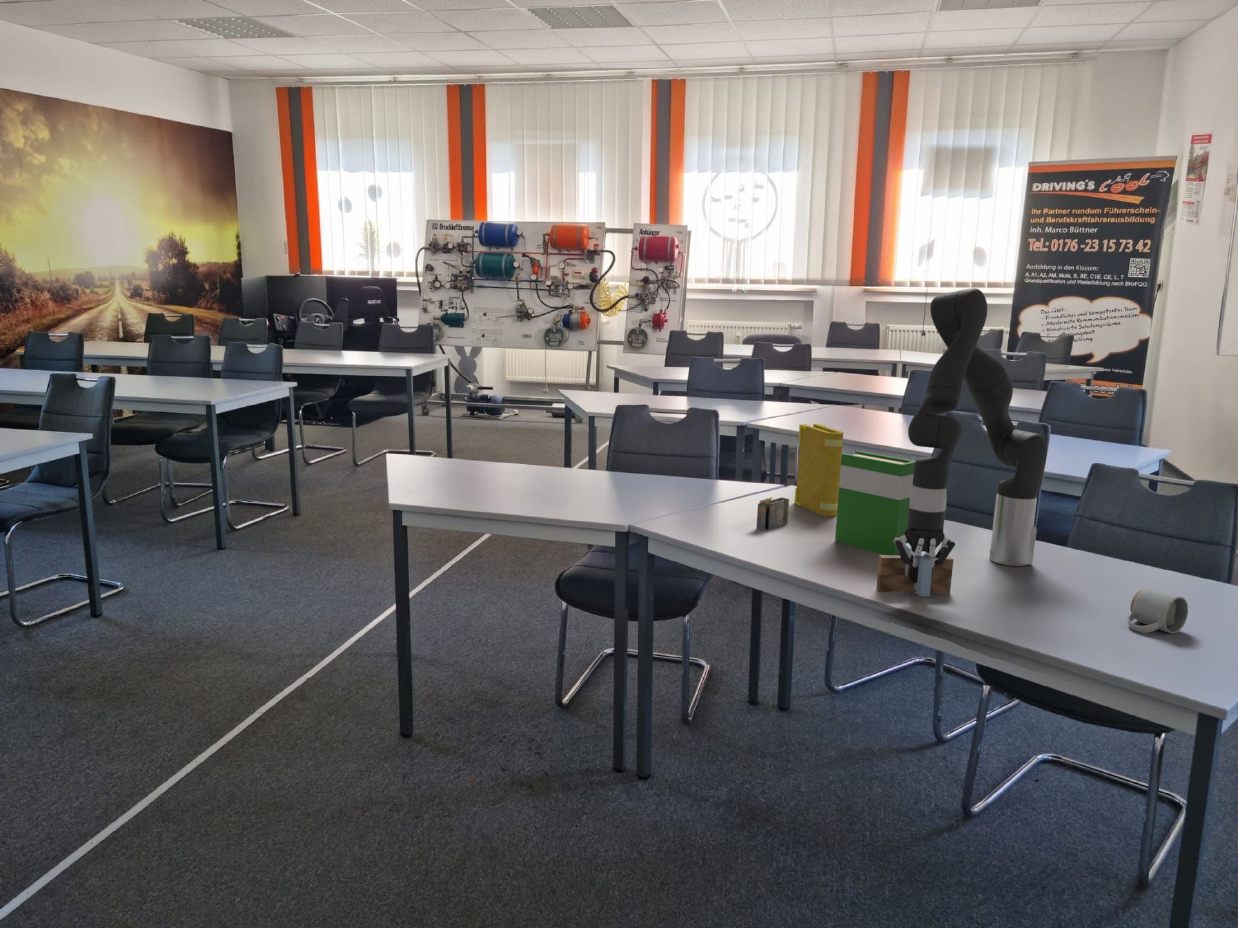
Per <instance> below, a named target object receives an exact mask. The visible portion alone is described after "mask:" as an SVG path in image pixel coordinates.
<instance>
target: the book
mask: <svg viewBox="0 0 1238 928" xmlns="http://www.w3.org/2000/svg"><path fill="white" fill-rule="evenodd" d="M798 427H799V430H798V441H799V449H798V450H799V451H798V461H797V462H798V465H797V466H798V467H797V479H796V487H795V489H794V491H795V492H794V504H795V503H796V505H798V506H799V505H800V506H799V507H803V508H805V507H806V508H805V509H807V510H809V511H811V512H813V513H814V514H817V515H818V516H822V517H837V508H838V495H839V482H840V469H841V456H842V454H843V443H844V442H843V441H844V432H843V431H841V430H839V429H835V428H831V427H828V426H826V425H823V424H820V423H813V425H809V424H803V423H802V424H799V426H798Z"/></svg>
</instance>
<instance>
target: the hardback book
mask: <svg viewBox="0 0 1238 928" xmlns="http://www.w3.org/2000/svg"><path fill="white" fill-rule="evenodd" d="M854 453H855V454H848V453H843V452H842V456H841V469H840V482H839V495H838V508H837V515H836V523H835V524H836V525H835V537H834V542H835V541H836V543H838V544H839V543H840V544H842V543H844V544H843V545H847V546H850V545H852V546H851V547H854V548H857V547H858V549H860V550H861V549H862V550H865V551H870V552H873V553H876V554H879V555H883V554H884V555H899V553H898V551H897V549H896V546H895V544H894V542H893V538H895V537H896V538H899V537H901V536H903V535H904V533H905V531H906V530H907V523H908V512H909V502H910V493H911V489H912V483H913V473H914V465H915V462H916V460H912V459H906V458H901V457H900V458H899V457H894V456H889V455H884V454H878V453H872V452H867V451H861V450H855V452H854ZM905 543H908V541H907V540H906V541H905Z"/></svg>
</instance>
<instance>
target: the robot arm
mask: <svg viewBox="0 0 1238 928" xmlns="http://www.w3.org/2000/svg"><path fill="white" fill-rule="evenodd" d="M987 301H988V300H987V298H986V296H985V294H984V292H982V290H981V289H979V288H976V287H973V288H964V289H960V290H955V291H950V292H946V293H942V294H938V295H936V296H935V297H934V298H933V299H932V300H931V302H930V306H929V307H930V309H929V310H930V317H931V320H932V322H933V325H934V327H935V330H936V331H937V333H938V335H939V336H940V338H941V339H942V342H944V345H945V346H946V348H947V349H946V351H945V352H943V354H942V355H941V356H940V357H939V359H938V360H937V361H936V362H935V364H934V366H933V368H932V370H931V372H930V375H929V376H928V377H929V378H928V381H927V387H926V391H925V395H924V397H923V399H922V402H921V404H920V406H919V407H918V409H917V411H916V412H915V414H914V416H913V417H912V419H911V420H910V422H909V425H908V429H907V433H908V436H907V437H908V439H909V441H910V443H911V444H912V445H914V446H915V447H921V448H923V447H924V448H930V449H938V450H940V452H939V454H938V455H935V456H928V457H926V456H925V457H920V458H917V459H916V460H915V461H916V462H915V465H914V473H913V483H912V489H911V493H910V502H909V512H908V523H907V530H906V531H905V533H904V535H903V536H901V537H899V538H896V537H895V538H893V542H894V544H895V546H896V549H897V551H898V553H899V555H900V557H901V559H902V561H904V562H905V564H909V565H910V569H909V578H910V579H911V581H912V582H913V583H917V579H918V569H919V568H918V567H917V566H918V563H919V558H920V557H921V552H923V553H924V554H925V555H927V556H928V557H929V558H930V559H932V560H933V564H932V574H933V567H934V566H936V565H942V563H943V562H944V561H945V559H946V558H947V557H949V555H950V554H951V552H952V550H953V549H954V548H955V546H956V542H955V541H953V540H952V539H951V538H947V537H946V536H945V532H944V528H945V519H946V518H945V516H946V509H947V499H948V497H947V496H948V495H947V486H948V479H949V477H948V475H949V469H950V466H951V461H952V459H953V455H954V453H955V450H956V449H957V445H958V443H959V441H960V439H961V437H962V436H961V435H962V425H961V422H960V420H959V419H958V418H957V417H955V416H950V415H949V416H948V415H939V414H945V413H950V412H953V411H954V410H956V409H957V408H958V405H959V403H960V399H961V394H962V388H963V384H964V383H965V385H966V388H967V390H968V392H969V394H970V396H971V398H972V401H973V403H974V404H975V406H976V408H977V410H978V413H979V415H980V417H981V420H982V422H983V424H984V427H985V429H986V432H987V436H988V439H989V443H990V446H991V448H992V451H993V453H994V456H995V458H996V459H997V461H998V462H1000V463H1001V464H1003V465H1004V466H1008V467H1012V468H1016V470H1015V474H1014V477H1013V478H1010V479H1002V480H1001V481H999V482H998V483H997V487H996V498H995V505H994V506H995V507H994V513H993V521H992V522H993V523H992V532H991V540H990V549H989V560H990V561H992V562H994V563H997V564H1000V565H1003V566H1008V567H1009V566H1010V567H1024V566H1027V565H1028V566H1029V565H1033V560H1034V553H1035V546H1036V537H1037V529H1038V528H1037V527H1036V526H1035V515H1036V510H1037V509H1036V508H1037V507H1036V506H1037V501H1038V499H1037V498H1038V494H1039V493H1038V492H1039V490H1040V488H1041V485H1042V483H1043V478H1044V472H1045V467H1046V463H1047V461H1046V460H1047V456H1048V444H1047V441H1046V439H1045V438H1044V436H1043V435H1042V434H1039V433H1037V432H1031V431H1026V430H1020V429H1018V428H1017V427H1016V426H1015V424H1013V423H1014V422H1012V419H1011V417H1010V414H1009V408H1010V405H1011V403H1012V399H1013V393H1014V388H1013V387H1014V386H1013V384H1012V382H1011V379H1010V377H1009V375H1008V372H1007V370H1006V367H1005V366H1004V364H1003V363H1002V362H1001V360H999V359H998V358H997V357H996V356H994V355H993V354H991V353H990V352H989V351H987V350H986V349H984V348H982V347H981V346H979V345H978V342H979V340H980V337H981V335H982V331H983V329H984V327H985V325H986V320H987V317H988V302H987ZM906 540H907V541H908V543H909V544H910V546H911V550H910V558H909V557H908V555H907V553H906V551H905V549H904V546H905V545H906V543H905V541H906ZM940 545H941V546H940ZM939 546H940V548H939V550H938V551H937V552H936V549H937V548H938V547H939ZM931 580H932V576H931Z"/></svg>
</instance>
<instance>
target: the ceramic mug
mask: <svg viewBox="0 0 1238 928" xmlns="http://www.w3.org/2000/svg"><path fill="white" fill-rule="evenodd" d="M1188 605H1189V604H1188V601H1187V600H1186V598H1185V597H1183V596H1181V595H1176V594H1172V593H1168V592H1163V591H1160V590H1155V589H1150V588H1148V589H1147V588H1143V589H1140V590H1139V591H1137V592H1136V593H1135V594H1134V596H1133V597H1132V599H1131V602H1130V607H1129V609H1130V614H1129V615H1128V617H1127V624H1128V626H1129V628H1130V629H1131V630H1133V631H1135V632H1137V633H1144V634H1146V633H1153V632H1155V631H1157V630H1160V631H1163V632H1165V633H1167V634H1176V633H1179V631H1181V630H1182V628H1183V627H1184V626H1185V624H1186V621H1187V620H1188V615H1189V606H1188ZM1134 620H1135V621H1136V622H1138V623H1141V624H1143V625H1142V626H1141V625H1136V624H1134V623H1133V622H1132V621H1134Z"/></svg>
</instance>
